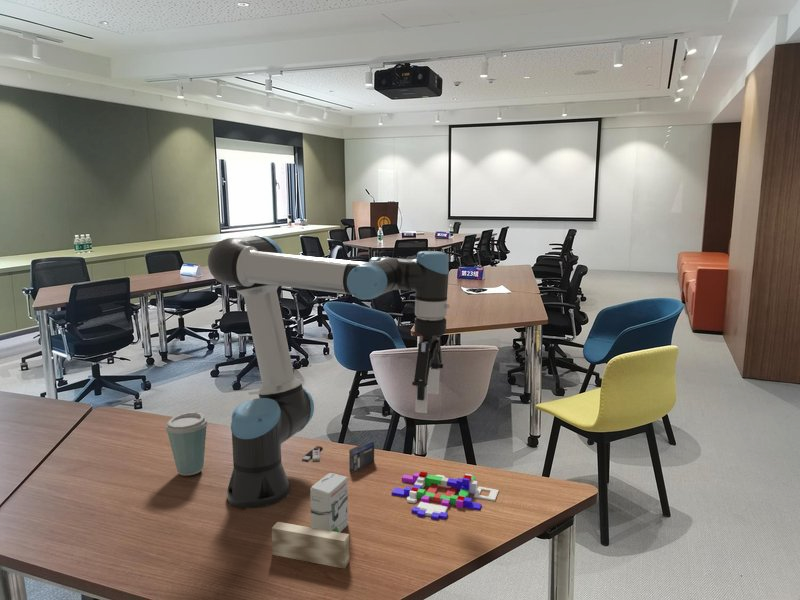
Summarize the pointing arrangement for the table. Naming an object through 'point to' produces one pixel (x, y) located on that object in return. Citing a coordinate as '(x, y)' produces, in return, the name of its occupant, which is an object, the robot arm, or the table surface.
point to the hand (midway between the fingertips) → (427, 402)
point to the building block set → (440, 481)
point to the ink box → (330, 503)
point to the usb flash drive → (313, 454)
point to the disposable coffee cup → (188, 441)
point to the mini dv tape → (361, 456)
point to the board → (310, 544)
